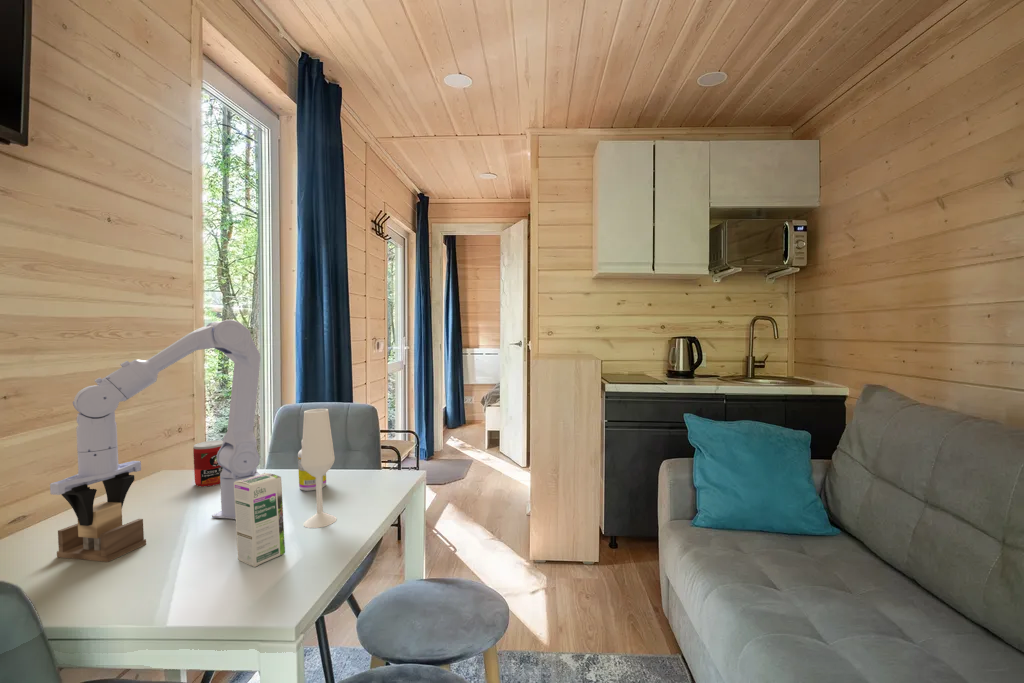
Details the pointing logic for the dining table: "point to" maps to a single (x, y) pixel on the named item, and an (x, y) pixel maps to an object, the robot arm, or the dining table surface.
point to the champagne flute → (317, 458)
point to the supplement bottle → (307, 477)
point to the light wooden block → (102, 520)
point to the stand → (101, 542)
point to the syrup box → (259, 518)
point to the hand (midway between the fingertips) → (101, 519)
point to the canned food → (207, 463)
